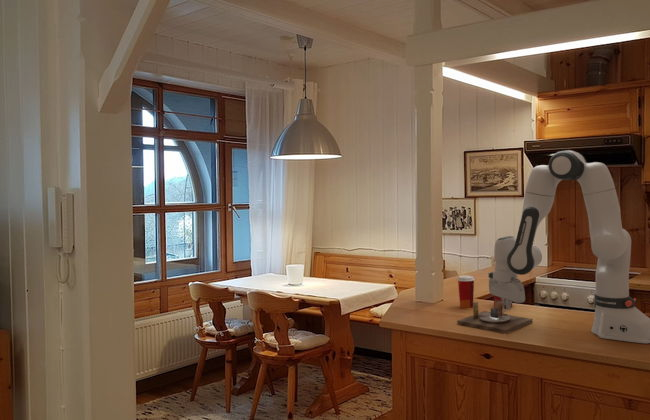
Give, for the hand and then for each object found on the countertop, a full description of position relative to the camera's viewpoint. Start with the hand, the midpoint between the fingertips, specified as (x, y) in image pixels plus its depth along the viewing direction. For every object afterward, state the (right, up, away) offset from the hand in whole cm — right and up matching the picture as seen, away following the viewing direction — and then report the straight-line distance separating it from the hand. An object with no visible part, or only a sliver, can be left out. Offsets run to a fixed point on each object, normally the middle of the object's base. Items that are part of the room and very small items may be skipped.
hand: (507, 309), depth 237 cm
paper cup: (-10, -4, +25) cm, 28 cm away
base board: (-6, -5, -3) cm, 9 cm away
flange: (-5, -3, -2) cm, 7 cm away
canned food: (+6, -3, +24) cm, 25 cm away
